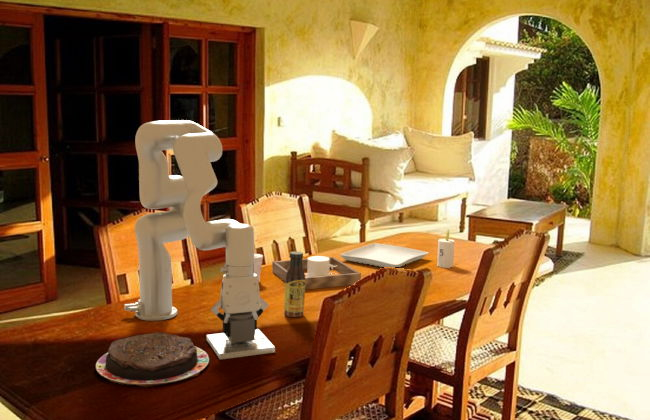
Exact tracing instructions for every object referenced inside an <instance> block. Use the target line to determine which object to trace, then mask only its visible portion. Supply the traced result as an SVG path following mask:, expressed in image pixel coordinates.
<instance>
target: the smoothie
mask: <svg viewBox="0 0 650 420" xmlns="http://www.w3.org/2000/svg"><path fill="white" fill-rule="evenodd" d="M263 259H264V255H263V254H260V253H254V273H255V274H257V277H258V283H260V278H261V271H262V263H263Z"/></svg>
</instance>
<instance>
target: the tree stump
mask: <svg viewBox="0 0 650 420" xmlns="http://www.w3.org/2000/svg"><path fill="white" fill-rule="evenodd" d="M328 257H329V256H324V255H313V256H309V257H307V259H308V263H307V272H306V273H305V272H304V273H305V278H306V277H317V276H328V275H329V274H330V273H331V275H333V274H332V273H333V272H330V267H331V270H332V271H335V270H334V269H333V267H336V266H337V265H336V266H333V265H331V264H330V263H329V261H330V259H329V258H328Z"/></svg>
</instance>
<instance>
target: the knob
mask: <svg viewBox="0 0 650 420" xmlns="http://www.w3.org/2000/svg"><path fill="white" fill-rule="evenodd" d="M252 316H253V315H252V313H251V312H247V313H238V314H231V315H230V318H229V323H230V337H227V338H228V339H229V340H230V342H231V343H236V342H244V341H252V340H255V319H254V318H253V317H252Z"/></svg>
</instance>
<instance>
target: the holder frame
mask: <svg viewBox="0 0 650 420" xmlns="http://www.w3.org/2000/svg"><path fill="white" fill-rule="evenodd" d="M327 257H328V258H329V259H330V261H329V263H330V264H331V265H333V266H336V265H337V266H336V267H333V270H334V269H335V270H334V271H336V270H337V271H336V272H338V273H339V272H340V274H331V275H328V276H317V277H307V276H305V277H306V278H305V290H313V289H322V288H323V289H325V288H333V287H334V288H335V287H336V288H337V287H345V286H353V285H352V284H354V283H355V282H357V281H358V280H360V279H361V280H362V273H361V272H359V271H358V270H356V269H355V268H352V267H351V266H349V265H348V264H345V263H344V262H342V261H340V260H339V259H337V258H336V257H333V256H327ZM307 263H308V258H302V268H303V270H304V271H306V270H307ZM271 264H272V266H271V267H272V269H271V270H272V271H271V273H273V274H274V275H276V276H277V277H278V278H279V279H281V280H282V281H283V282H285V281H286V273H287V271H288V269H289V268H290V260H288V259H287V260H275V261H272V263H271Z"/></svg>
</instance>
